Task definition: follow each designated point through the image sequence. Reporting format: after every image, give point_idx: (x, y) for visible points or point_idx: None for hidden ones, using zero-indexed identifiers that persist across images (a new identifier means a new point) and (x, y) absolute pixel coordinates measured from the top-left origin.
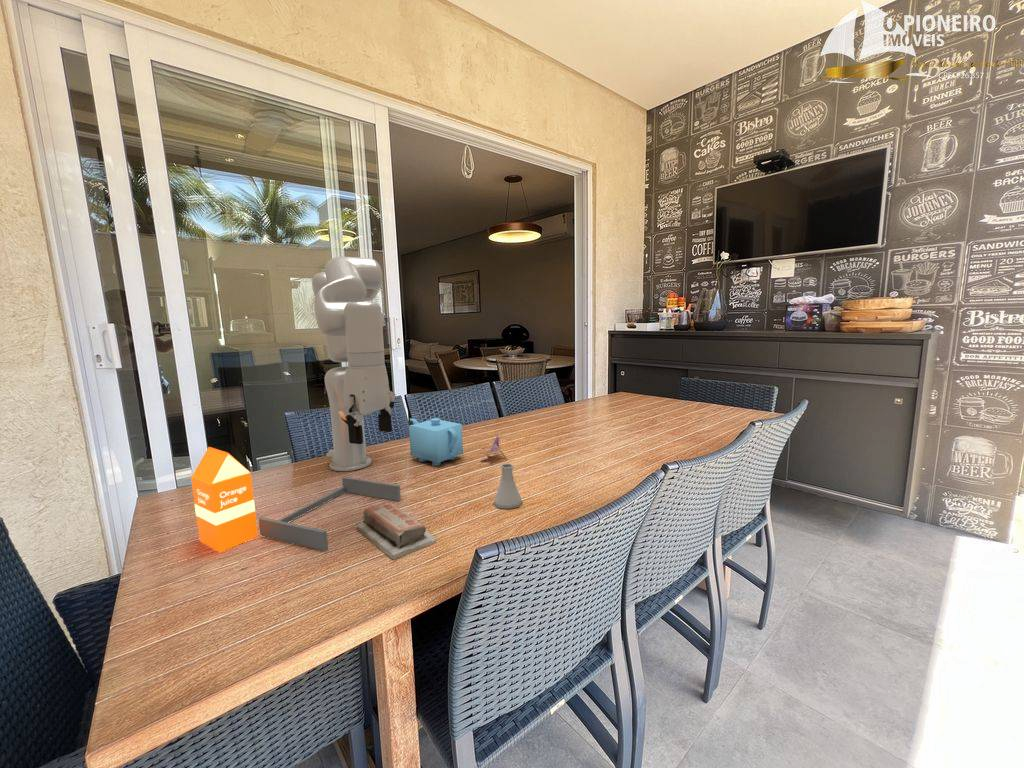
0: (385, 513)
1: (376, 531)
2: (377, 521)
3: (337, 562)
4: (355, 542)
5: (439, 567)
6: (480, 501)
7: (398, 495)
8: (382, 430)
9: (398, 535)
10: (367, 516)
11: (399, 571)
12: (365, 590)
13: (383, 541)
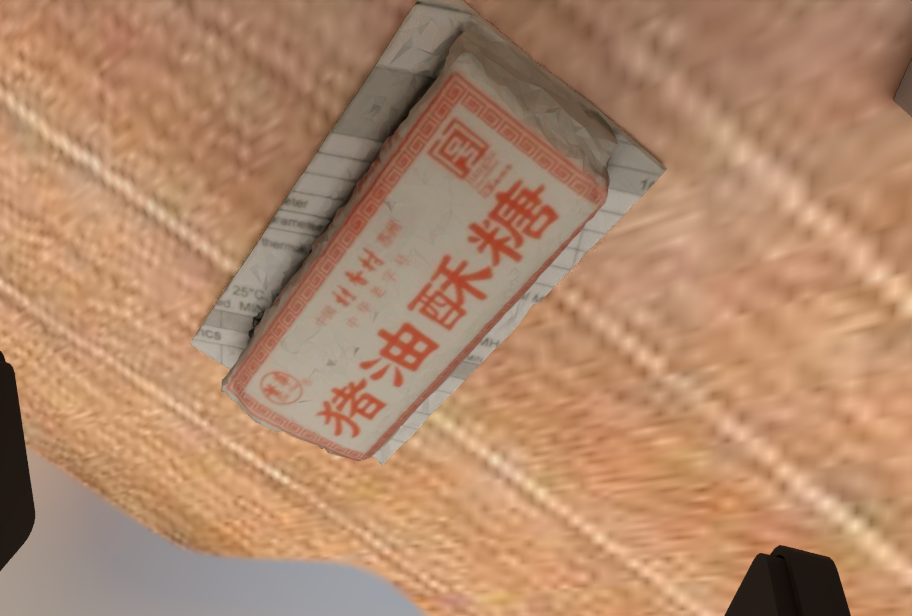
0: (407, 247)
1: (358, 180)
2: (338, 217)
3: (95, 85)
4: (281, 76)
5: (220, 497)
6: (848, 574)
7: (909, 112)
8: (734, 612)
9: (223, 386)
10: (424, 95)
11: (146, 376)
12: (3, 302)
13: (279, 257)
